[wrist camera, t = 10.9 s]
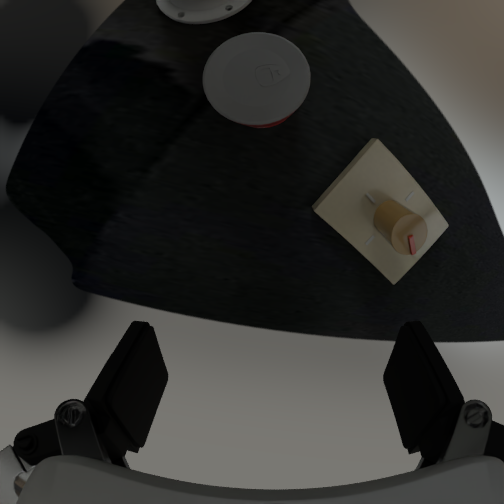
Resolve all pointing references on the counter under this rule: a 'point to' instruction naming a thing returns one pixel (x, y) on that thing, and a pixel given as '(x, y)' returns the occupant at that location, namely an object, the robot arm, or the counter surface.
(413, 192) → the plate
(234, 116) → the canned food
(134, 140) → the counter surface
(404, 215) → the tap handle
